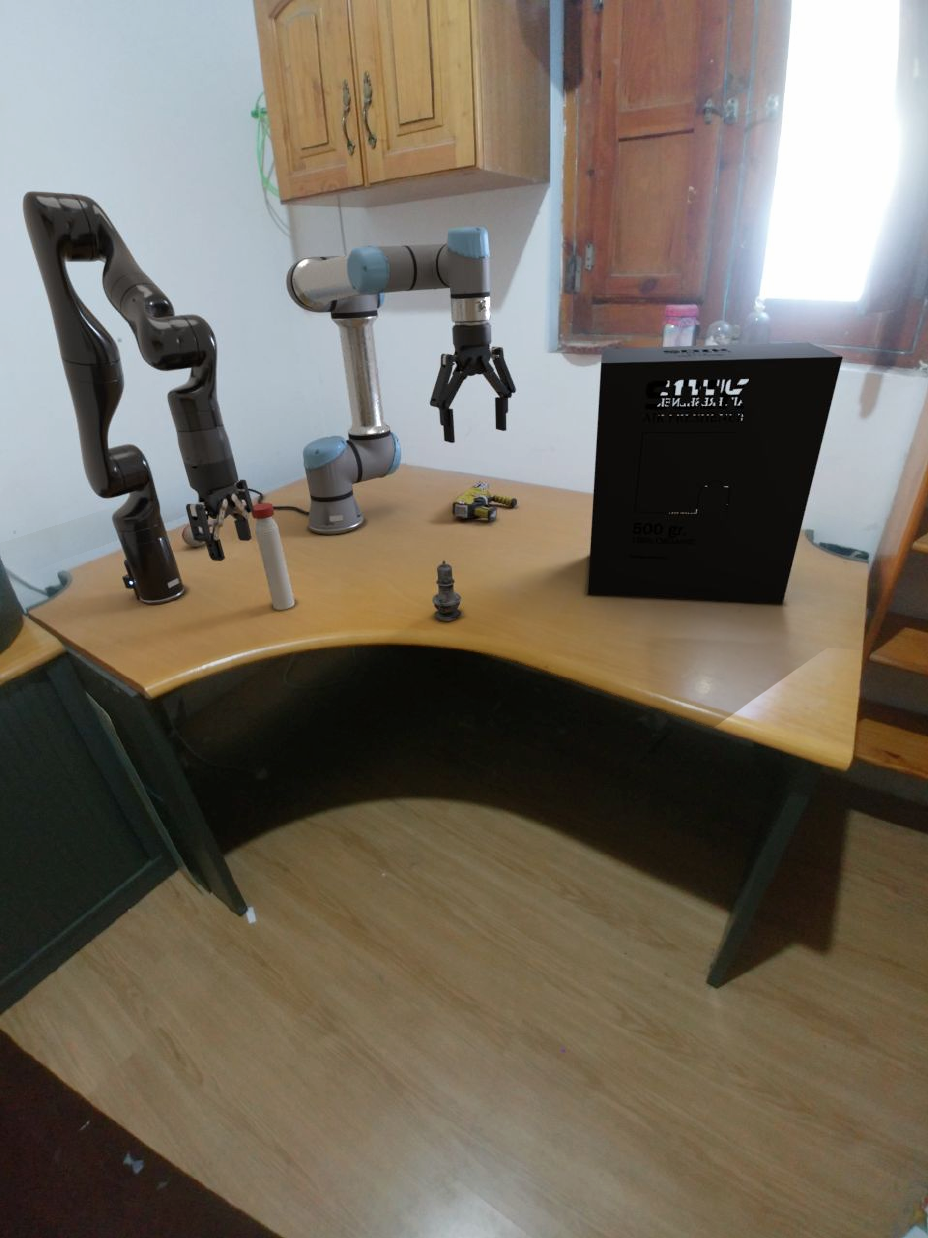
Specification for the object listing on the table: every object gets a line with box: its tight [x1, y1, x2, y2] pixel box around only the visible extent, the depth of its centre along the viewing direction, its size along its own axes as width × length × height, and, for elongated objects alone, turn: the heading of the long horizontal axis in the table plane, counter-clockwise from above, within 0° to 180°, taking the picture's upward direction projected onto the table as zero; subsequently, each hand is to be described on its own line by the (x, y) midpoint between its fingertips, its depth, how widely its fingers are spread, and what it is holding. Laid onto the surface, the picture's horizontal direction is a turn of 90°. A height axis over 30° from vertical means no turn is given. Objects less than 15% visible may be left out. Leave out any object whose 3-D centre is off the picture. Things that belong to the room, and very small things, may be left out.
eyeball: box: [181, 524, 206, 548], centre depth 159 cm, size 6×6×6 cm
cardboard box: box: [587, 342, 844, 605], centre depth 120 cm, size 38×20×45 cm, turn 78°
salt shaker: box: [431, 560, 462, 622], centre depth 119 cm, size 6×6×12 cm
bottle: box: [254, 516, 296, 611], centre depth 124 cm, size 4×4×22 cm
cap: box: [251, 502, 275, 520], centre depth 119 cm, size 4×4×2 cm
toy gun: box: [451, 480, 518, 523], centre depth 174 cm, size 5×24×15 cm
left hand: (232, 549), depth 104 cm, fingers open, 8 cm apart
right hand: (475, 435), depth 126 cm, fingers open, 13 cm apart
